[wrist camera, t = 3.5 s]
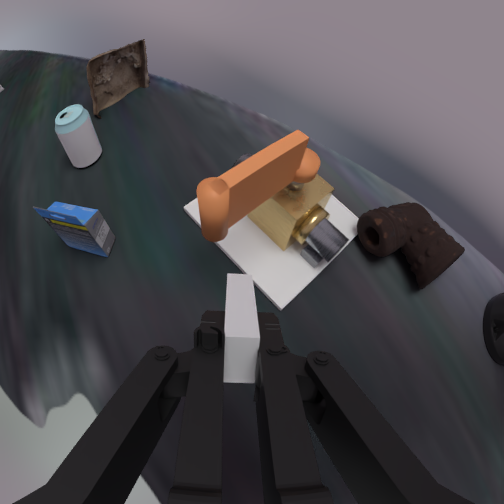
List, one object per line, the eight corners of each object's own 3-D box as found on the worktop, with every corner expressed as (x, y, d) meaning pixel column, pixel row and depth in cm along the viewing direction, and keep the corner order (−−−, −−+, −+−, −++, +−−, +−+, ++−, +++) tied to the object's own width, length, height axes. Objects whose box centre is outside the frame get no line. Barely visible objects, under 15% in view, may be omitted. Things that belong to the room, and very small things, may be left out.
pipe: (367, 197, 40) (431, 278, 33) (419, 179, 45) (473, 243, 38) (345, 236, 48) (396, 308, 41) (397, 213, 53) (443, 272, 46)
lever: (297, 152, 37) (309, 112, 31) (322, 172, 36) (339, 133, 30) (191, 224, 31) (184, 183, 25) (218, 252, 30) (216, 215, 24)
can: (73, 175, 49) (50, 132, 38) (72, 153, 51) (52, 111, 40) (104, 161, 50) (86, 116, 40) (101, 140, 53) (85, 97, 42)
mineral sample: (99, 120, 56) (82, 68, 42) (91, 115, 57) (75, 65, 43) (153, 85, 62) (146, 35, 49) (144, 82, 63) (136, 33, 49)
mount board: (363, 228, 48) (365, 225, 48) (280, 310, 41) (281, 309, 40) (274, 151, 54) (275, 148, 53) (184, 210, 47) (183, 207, 46)
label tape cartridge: (117, 237, 44) (90, 191, 33) (108, 258, 42) (76, 217, 31) (75, 227, 44) (44, 184, 33) (66, 246, 42) (31, 207, 31)
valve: (344, 247, 45) (374, 207, 35) (312, 279, 42) (339, 244, 32) (257, 169, 50) (265, 120, 40) (222, 193, 48) (222, 142, 37)
